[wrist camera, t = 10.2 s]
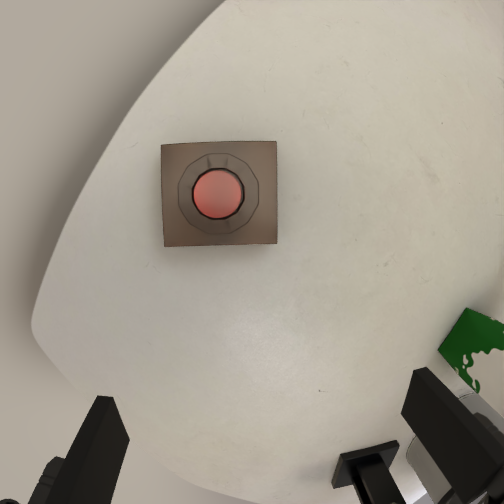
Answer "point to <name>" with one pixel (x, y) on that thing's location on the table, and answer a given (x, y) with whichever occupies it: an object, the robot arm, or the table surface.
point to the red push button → (217, 194)
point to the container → (427, 468)
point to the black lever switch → (369, 474)
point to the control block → (251, 183)
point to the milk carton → (478, 355)
